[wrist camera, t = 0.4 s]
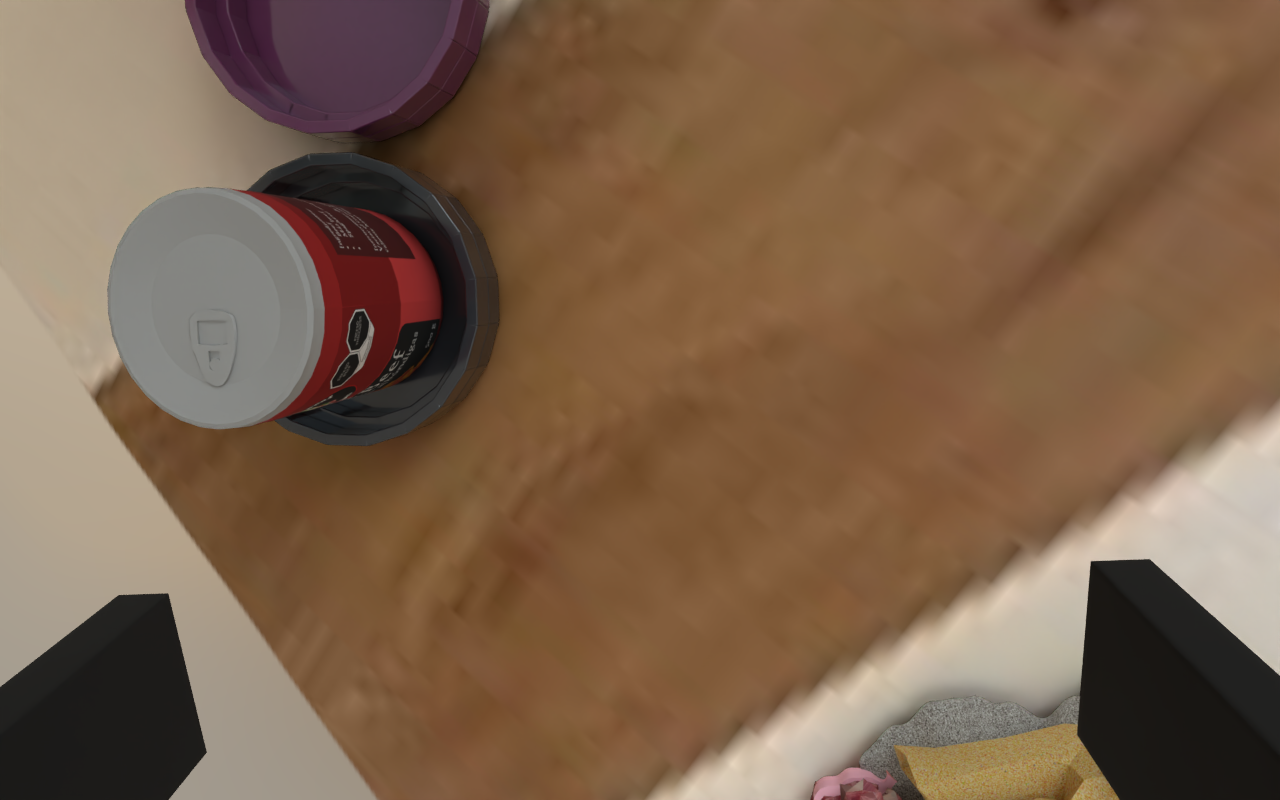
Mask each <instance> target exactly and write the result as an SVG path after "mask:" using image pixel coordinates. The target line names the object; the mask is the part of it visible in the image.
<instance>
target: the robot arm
mask: <svg viewBox="0 0 1280 800" xmlns="http://www.w3.org/2000/svg"><path fill="white" fill-rule="evenodd" d="M1077 736H1078V737H1079V739H1080V740H1081V742H1082V743H1083V745H1084V746H1085V748H1086V749H1087V751H1088V752H1089V754H1090V755H1091V757H1092V758H1093V760H1094V761H1095V763H1096V765H1097V766H1098V768H1099V769H1100V771H1101V772H1102V774H1103V775H1104V777H1105V778H1106V780H1107V781H1108V783H1109V784H1110V786H1111V787H1112V789H1113V790H1114V792H1115V793H1116V795H1117V796H1118V798H1119V799H1120V800H1280V676H1279V675H1278V674H1277V673H1276V672H1275V671H1274V670H1273V669H1272V668H1270V667H1269V666H1268V665H1267V664H1266V663H1265V662H1264V661H1263V660H1262V659H1260V658H1259V657H1258V656H1257V655H1256V654H1255V653H1254V652H1253V651H1251V650H1250V649H1249V648H1248V647H1247V646H1246V645H1245V644H1244V643H1243V642H1241V641H1240V640H1239V639H1238V638H1237V637H1236V636H1235V635H1234V634H1232V633H1231V632H1230V631H1229V630H1228V629H1227V628H1226V627H1225V626H1223V625H1222V624H1221V623H1220V622H1219V621H1218V620H1217V619H1216V618H1215V617H1213V616H1212V615H1211V614H1210V613H1209V612H1208V611H1207V610H1206V609H1204V608H1203V607H1202V606H1201V605H1200V604H1199V603H1198V602H1197V601H1196V600H1194V599H1193V598H1192V597H1191V596H1190V595H1189V594H1188V593H1187V592H1185V591H1184V590H1183V589H1182V588H1181V587H1180V586H1179V585H1178V584H1177V583H1175V582H1174V581H1173V580H1172V579H1171V578H1170V577H1169V576H1168V575H1166V574H1165V573H1164V572H1163V571H1162V570H1161V569H1160V568H1159V567H1158V566H1156V565H1155V564H1154V563H1153V562H1152V561H1151V560H1150V559H1144V560H1115V561H1091V566H1090V578H1089V591H1088V603H1087V616H1086V628H1085V640H1084V653H1083V665H1082V677H1081V690H1080V702H1079V715H1078V727H1077ZM206 753H207V752H206V748H205V744H204V740H203V735H202V731H201V727H200V723H199V719H198V715H197V710H196V706H195V702H194V698H193V694H192V690H191V686H190V682H189V677H188V674H187V669H186V665H185V661H184V657H183V653H182V648H181V644H180V640H179V637H178V632H177V628H176V624H175V620H174V615H173V611H172V607H171V603H170V599H169V595H168V594H140V595H139V594H138V595H119V596H117V597H116V598H114V599H113V600H112V601H111V602H109V603H108V604H107V605H105V606H104V607H103V608H102V609H100V610H99V611H98V612H96V613H95V614H94V615H93V616H91V617H90V618H89V619H87V620H86V621H85V622H84V623H82V624H81V625H80V626H79V627H77V628H76V629H75V630H73V631H72V632H71V633H69V634H68V635H67V636H65V637H64V638H63V639H62V640H60V641H59V642H58V643H57V644H55V645H54V646H53V647H51V648H50V649H49V650H47V651H46V652H45V653H44V654H42V655H41V656H40V657H38V658H37V659H36V660H35V661H34V662H32V663H31V664H29V665H28V666H27V667H25V668H24V669H23V670H22V671H20V672H19V673H18V674H16V675H15V676H14V677H13V678H11V679H10V680H9V681H7V682H6V683H5V684H4V685H2V686H1V687H0V800H169V798H170V797H171V796H172V795H173V793H174V792H175V791H176V790H177V788H178V787H179V786H180V785H181V783H182V782H183V781H184V780H185V779H186V777H187V776H188V775H189V774H190V772H191V771H192V770H193V769H194V767H195V766H196V765H197V763H198V762H199V761H200V760H201V759H202V758H203V756H204V755H205V754H206Z"/></svg>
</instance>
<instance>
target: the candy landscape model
mask: <svg viewBox="0 0 1280 800" xmlns="http://www.w3.org/2000/svg"><path fill="white" fill-rule="evenodd" d="M1079 702H1080V696H1072V697H1070V698H1068V699H1066V700H1065V701H1064V702H1063V703H1061V704H1060V706H1059V707H1058V708H1057V709H1056V710H1055V711H1054V712H1053V713H1052V714H1051V715H1050V716H1048V717H1046V718H1039V717H1037V716H1035V715H1033V714H1032V713H1030V712H1029V711H1027V710H1026V709H1024V708H1023V707H1021V706H1020V705H1018V704H1016V703H1011V702H1005V703H999V704H996V703H992V702H989V701H988V700H986V699H984V698H982V697H978V696H971V697H966V698H951V699H947V700H943V701H930V702H928V703H926V704H924V705H923V706H922V707H921V708H920V709H919V710H918V712H917V713H916V714H915V715H914V716H913V718H912V719H911V720H910V721H909V722H907V723H905V724H902V725H893V726H890V727H888V728H887V729H886V730H885V731H884V732H883V733H882V734H881V736H880V737H879V738H878V739H877V741H876V742H875V743H874V744H873V745H872V746H871V747H870V748H869V749H868V750H867V751H866V752H865V753H863V755H862V756H861V759H860V761H859V763H860V767H861V768H847V769H845V770H844V771H842V772H841V773H840V774H839V775H836V776H825V777H822V778H821V779H819V780H818V781H817V782H816V781H815V784H814V788H813V792H812V796H811V800H1120V799H1119V798H1118V796H1117V795H1116V793H1115V792H1114V790H1113V789H1112V787H1111V786H1110V784H1109V783H1108V781H1107V780H1106V778H1105V777H1104V775H1103V774H1102V772H1101V771H1100V769H1099V768H1098V766H1097V765H1096V763H1095V761H1094V760H1093V758H1092V757H1091V755H1090V754H1089V752H1088V751H1087V749H1086V748H1085V746H1084V745H1083V743H1082V742H1081V740H1080V739H1079V737H1078V736H1077V727H1078V715H1079Z"/></svg>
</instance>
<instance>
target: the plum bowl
mask: <svg viewBox="0 0 1280 800" xmlns="http://www.w3.org/2000/svg"><path fill="white" fill-rule="evenodd" d="M185 8H186V12H187V15H188V18H189V20H190V23H191V26H192V29H193V31H194V34H195V37H196V40H197V43H198V45H199V48H200V51H201V54H202V55H203V57H204V59H205V60H206V61H207V63H208V64H209V65H210V67H211V68H212V70H213V71H214V72H215V74H216V75H217V76H218V78H219V79H220V81H221V82H222V83H223V85H224V86H225V88H226V89H227V90H228V92H229V93H230V94H231V95H233V96H234V97H235V98H237V99H238V100H239V101H241V102H242V103H243V104H245V105H246V106H247V107H249V108H250V109H251V110H253V111H254V112H255V113H257V114H258V115H259V116H261V117H262V118H264V119H265V120H267V121H269V122H272V123H276V124H279V125H282V126H285V127H288V128H291V129H295V130H298V131H301V132H304V133H307V134H311V135H314V136H318V137H321V138H325V139H328V140H332V141H335V142H340V143H352V142H378V141H383V140H386V139H388V138H391V137H393V136H396V135H398V134H401V133H403V132H405V131H408V130H410V129H413V128H415V127H418V126H420V125H421V124H423V123H424V122H425V121H426V120H427V119H428V118H429V117H431V116H432V115H433V114H434V113H435V112H436V111H437V110H439V109H440V108H441V107H442V106H443V105H444V104H446V103H447V102H448V101H449V100H450V99H451V98H452V97H453V96H454V95H455V93H456V91H457V90H458V88H459V86H460V85H461V83H462V82H463V80H464V78H465V77H466V75H467V73H468V72H469V70H470V68H471V67H472V65H473V63H474V62H475V60H476V58H477V55H478V52H479V48H480V44H481V40H482V36H483V32H484V28H485V25H486V21H487V17H488V13H489V10H488V9H489V0H185Z"/></svg>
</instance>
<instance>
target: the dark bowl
mask: <svg viewBox="0 0 1280 800" xmlns="http://www.w3.org/2000/svg"><path fill="white" fill-rule="evenodd" d="M247 191H253V192H259V193H265V194H272V195H278V196H284V197H290V198H296V199H303V200H309V201H315V202H321V203H328V204H334V205H340V206H346V207H353V208H359V209H365V210H370V211H374V212H377V213H380V214H384V215H386V216H388V217H390V218H391V219H393V220H395V221H397V222H399V223H400V224H401V225H403V226H404V227H405V228H406V229H407V230H408V231H410V232H411V233H412V234H413V235H414V236H415V237H416V238H417V239H418V240H419V242H420V243H421V244H422V245H423V247H424V248H425V249H426V250H427V252H428V253H429V255H430V257H431V259H432V261H433V262H434V264H435V266H436V269H437V272H438V275H439V278H440V281H441V286H442V293H443V318H442V322H441V327H440V332H439V334H438V337H437V339H436V341H435V344H434V346H433V348H432V349H431V351H430V352H429V354H428V355H427V357H426V358H425V360H424V361H423V362H422V364H421V365H420V366H419V367H418V368H417V369H416V370H415V371H414V372H413V373H412V374H411V375H410V376H409V377H407V378H405V379H404V380H402V381H401V382H399V383H397V384H396V385H393V386H390V387H387V388H384V389H381V390H378V391H374V392H371V393H367V394H364V395H360V396H357V397H353V398H350V399H346V400H343V401H339V402H336V403H332V404H329V405H325V406H322V407H318V408H315V409H311V410H308V411H304V412H301V413H297V414H294V415H290V416H287V417H283V418H280V419H276V420H274V421H276V422H277V423H278V424H280V425H281V426H282V427H283V428H285V429H286V430H288V431H290V432H293V433H296V434H299V435H301V436H304V437H307V438H310V439H312V440H315V441H318V442H320V443H323V444H327V445H349V446H370V445H373V444H377V443H380V442H383V441H386V440H389V439H392V438H395V437H398V436H401V435H404V434H407V433H410V432H412V431H415V430H417V429H420V428H422V427H425V426H427V425H429V424H432V423H433V422H435V421H436V420H438V419H439V418H440V417H442V416H443V415H444V414H446V413H447V412H448V411H450V410H451V409H452V408H453V407H455V406H456V405H457V404H459V403H460V402H461V401H463V400H464V398H466V396H467V395H468V393H469V392H470V390H471V389H472V387H473V386H474V384H475V383H476V381H477V380H478V378H479V377H480V375H481V374H482V372H483V371H484V369H485V368H486V366H487V363H488V362H489V358H490V354H491V351H492V347H493V344H494V340H495V336H496V333H497V329H498V326H499V323H498V322H499V294H498V279H497V274H496V271H495V268H494V265H493V262H492V259H491V256H490V253H489V250H488V247H487V244H486V241H485V238H484V236H483V234H482V232H481V231H480V229H479V228H478V227H477V225H476V224H475V223H474V221H473V220H472V218H471V217H470V216H469V214H468V213H467V212H466V210H465V209H464V207H463V206H462V205H461V203H460V202H459V200H457V199H456V198H455V197H454V196H453V195H451V194H450V193H448V192H447V191H446V190H444V189H443V188H442V187H440V186H439V185H438V184H436V183H435V182H434V181H432V180H431V179H429V178H428V177H427V176H425V175H424V174H422V173H420V172H417V171H414V170H411V169H408V168H405V167H401V166H398V165H395V164H392V163H389V162H386V161H383V160H379V159H375V158H372V157H368V156H364V155H361V154H357V153H352V152H344V153H317V154H307V155H305V156H303V157H300V158H298V159H295V160H293V161H290V162H288V163H286V164H283V165H281V166H278V167H276V168H273V169H271V170H270V171H268V172H267V173H266V174H265V175H263V176H262V177H261V178H260V179H259V180H258V181H257V182H256V183H255V184H254V185H252V186H251V187H250V188H249V189H248V190H247Z"/></svg>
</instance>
